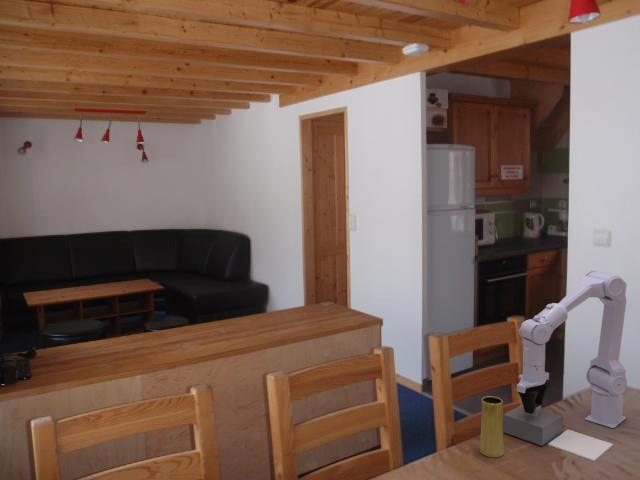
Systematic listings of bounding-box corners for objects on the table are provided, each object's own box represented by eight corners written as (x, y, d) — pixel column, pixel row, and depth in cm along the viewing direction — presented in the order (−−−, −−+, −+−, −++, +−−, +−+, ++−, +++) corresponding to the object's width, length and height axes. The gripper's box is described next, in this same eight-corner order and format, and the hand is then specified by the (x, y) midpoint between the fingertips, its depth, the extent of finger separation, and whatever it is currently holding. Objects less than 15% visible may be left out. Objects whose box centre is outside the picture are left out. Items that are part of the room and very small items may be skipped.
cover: (523, 420, 162) (523, 393, 161) (561, 433, 153) (563, 405, 152) (502, 431, 154) (503, 404, 153) (542, 446, 145) (543, 417, 145)
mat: (567, 430, 154) (567, 429, 154) (613, 445, 146) (613, 444, 146) (547, 445, 147) (548, 443, 147) (594, 461, 138) (594, 460, 138)
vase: (505, 458, 140) (506, 405, 138) (480, 456, 141) (481, 404, 140) (502, 447, 146) (503, 396, 144) (478, 445, 147) (479, 394, 146)
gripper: (532, 354, 160) (531, 398, 161) (506, 366, 150) (506, 413, 151) (556, 359, 154) (555, 405, 156) (531, 372, 145) (530, 421, 146)
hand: (532, 410), depth 153 cm, fingers open, 4 cm apart
